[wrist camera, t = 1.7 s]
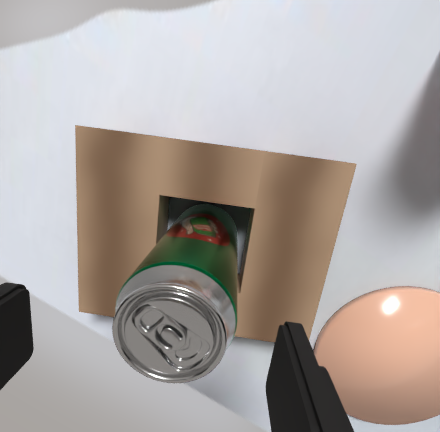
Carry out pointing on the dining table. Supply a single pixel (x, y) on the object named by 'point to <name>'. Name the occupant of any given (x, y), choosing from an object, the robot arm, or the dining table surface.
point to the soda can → (181, 299)
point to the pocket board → (216, 193)
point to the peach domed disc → (385, 355)
